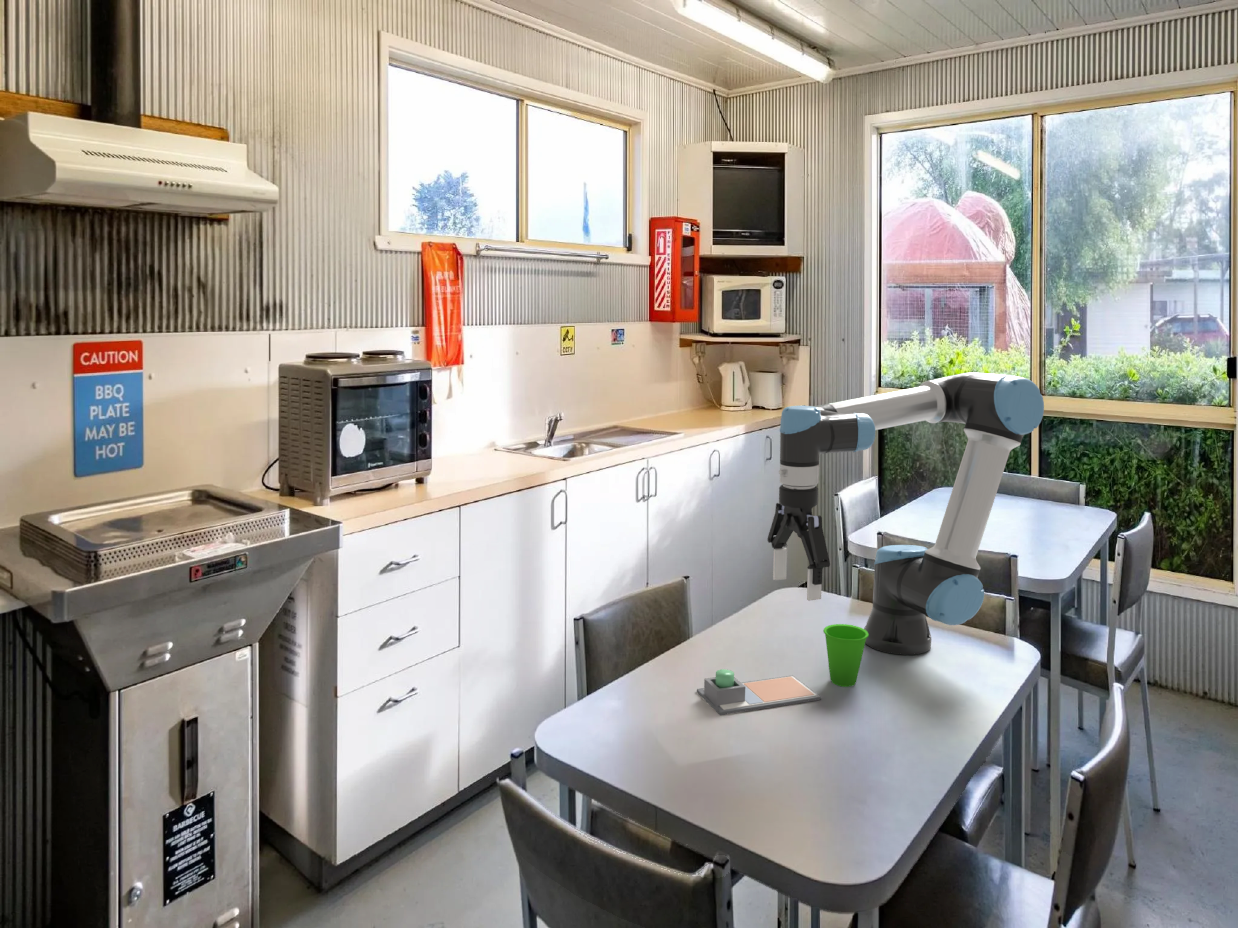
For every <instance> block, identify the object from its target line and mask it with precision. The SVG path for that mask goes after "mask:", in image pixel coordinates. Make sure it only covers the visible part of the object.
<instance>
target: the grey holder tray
mask: <svg viewBox="0 0 1238 928" xmlns="http://www.w3.org/2000/svg"><path fill="white" fill-rule="evenodd" d="M703 681H704V685H703V687H701V688H696V693H697V694H698V695H699V696H700V697H701V698H702V699H703V700H704V701H705V702H706V703H708V705H709V706H710V707H711V708H712V709H713V710H714V711H715V712H716V713H717V714H718V715H719V716H724V715H730V714H735V713H736V714H737V713H741V712H742V713H743V712H748V711H749V712H750V711H756V710H762V709H768V708H769V709H770V708H775V707H782V706H789V705H793V704H794V705H796V704H801V703H807V702H815V701H820V700H821V699H822V696H820V694H818V693H817V692H815V691H814V690H813V689H812V688H811V687H809V686H807V685H806V684H805V683H803V681H801V680H800V679H799V678H797V677H796V676H794V675H793V674H792V675H785V676H779V677H771V678H765V679H757V680H750V681H743V682H740V680H738V679H737V678H736V677H735V676H734V687H727V688H720V689H719V688H718V687H717V686H716V685H715V684H716V676H714V677H708V678H704V680H703Z"/></svg>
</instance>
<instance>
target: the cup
mask: <svg viewBox="0 0 1238 928" xmlns="http://www.w3.org/2000/svg"><path fill="white" fill-rule="evenodd" d="M823 634H825V635H824V636H825V643H826V644H825V645H826V653H827V660H828V661H827V664H828V670H829V679H830V682H831V683H832V684H833V685H835V686H838V687H843V688H844V687H845V688H847V687H854V686H855V684H856V683H857V679H858V676H859V673H860V672H859V671H860V668H861V663H862V659H863V654H864V649H865V646H866V644H865V641H866V638H867V637H868V635H869V634H868V632H867V631H866V630H865V629H864V628H863V627H861V626H860V627H859V626H858V625H854V624H847V623H845V624H844V623H838V624H837V623H834V624H830V625H827V626H825V627H824V628H823Z"/></svg>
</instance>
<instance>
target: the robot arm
mask: <svg viewBox="0 0 1238 928" xmlns="http://www.w3.org/2000/svg"><path fill="white" fill-rule="evenodd" d="M1044 411H1045V401H1044V397H1043V395H1042V394H1041V390H1040V388H1039V386H1038V385H1037V384H1036V383H1035V382H1033V381H1032V380H1030V379H1029V378H1026V377H1021V376H1017V375H1013V374H1001V373H999V374H998V373H987V372H979V371H978V372H977V371H974V372H971V371H970V372H963V373H959V374H953V375H948V376H945V377H939V378H934V379H930V380H926V381H924V382H922V383H921V384H919V386H916V387H911V388H906V389H901V390H896V391H889V392H885V393H879V394H873V395H867V396H862V397H859V398H858V397H857V398H852V399H846V400H842V401H841V400H840V401H836V402H831V403H826V404H824V403H823V404H819V405H813V406H812V405H805V404H804V405H791V406H790V405H789V406H786V407H784V408H783V409H782V411H781V417H780V425H779V433H780V435H779V440H780V441H779V444H780V445H779V470H778V474H779V483H780V484H781V485H780V486H779V487H778V489H779V491H778V495H779V496H778V502H776V503H775V510H774V511H775V512H774V514H773V515H774V516H773V518H772V522H771V526H770V530H769V532H768V536H767V539H766V540H767V543H768V544H769V543H770V544H771V548H773V558H772V559H773V560H772V561H773V562H772V563H773V564H772V566H773V567H772V580H773V581H781V580H787V572H788V571H787V566H788V565H787V564H788V559H787V558H788V548H786V547H787V546H788V545H787V543H788V541H789V539H790V538H791V535H792V534H793V532H794V533H796V536H797V537H798V538H799V539H800V540H801V544H802V545H803V548H804V551H805V554H806V558H807V560H808V563H809V565H808V566H807V578H806V579H807V581H806V582H807V584H806V586H807V587H806V601H809V602H810V601H817V600H822V587H823V586H822V583H823V569H824V568H830V566H831V563H830V562H831V561H830V558H829V552H828V548H827V544H826V540H825V535H824V534H825V533H824V529H823V517H822V516H821V515H813V508H814V507H816V506H817V505H818V503H819V488H818V486H817V485H819V481H820V480H819V478H820V456H821V455H823V454H824V455H826V454H835V453H850V452H853V453H856V452H861V451H866V450H868V449H870V448H871V447H872V445H873V444H874V443H875V440H876V431H878V430H882V429H889V428H893V427H897V426H904V425H908V424H913V423H918V422H919V423H920V422H924V421H925V422H927V423H930V424H936V423H946V422H948V423H949V422H950V423H958V424H964V427H963V432H964V435H965V436H966V437H967V443H966V445H965V449H964V452H963V454H962V459H961V461H960V465H959V469H958V471H957V474H956V477H955V481H954V484H953V487H952V489H951V493H950V495H949V499H948V502H947V505H946V509H945V511H944V512H945V513H944V515H943V518H942V521H941V524H940V528H939V531H938V533H937V534H938V535H937V537H936V540H935V544H934V545H933V546H932V547H930V548H928V547H925V546H923V545H915V544H913V545H912V544H894V545H893V544H892V545H891V544H890V545H884V546H881V547H879V548H878V549H877V550H876V553H875V561H874V562H873V565H874V573H873V594H872V609H871V611H870V614H869V616H868V619H867V620H866V624H865V626H864V628H863V629H865V630H866V631H867V632H868V634H869V635H868V637H867V638H866V641H865V645H867V646H868V647H870V648H872V649H875V650H876V651H880V652H884V653H886V654H893V655H902V656H907V655H908V656H910V655H920V654H924V653H927V652H929V650H931V647H932V635H931V630H930V627H929V624H928V620H927V617H928V618H930V619H931V620H932V621H935V622H939V623H941V624H944V625H947V626H958V625H962V624H965V623H966V622H967V621H970V620H971V619H972V618H974V617H975V616H976V615H977V613H978V612H979V610H980V609H981V607H982V605H983V602H984V599H985V589H984V588H983V587H984V586H983V583H982V582H981V580H980V579H979V578H978V577H979V574H980V570H981V565H980V564H979V563H978V561H977V558H976V557H977V555H978V552H979V549H980V546H981V543H982V540H983V537H984V534H985V530H986V528H987V525H988V524H987V523H988V521H989V519H990V518H989V517H990V515H991V512H992V509H993V505H994V503H995V499H996V497H997V492H998V490H999V487H1000V484H1001V481H1002V478H1003V475H1004V471H1005V468H1006V465H1007V461H1008V460H1009V456H1010V453H1011V451H1012V450H1013V449H1015V448H1017V447H1019V446H1020V445H1021V443H1022V441H1023V438H1024V435H1028V434H1030V433H1032V432H1033V431H1034V429H1037V428H1038V427H1039V426H1040V424H1041V422H1042V419H1043V417H1044Z"/></svg>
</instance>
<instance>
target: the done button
mask: <svg viewBox="0 0 1238 928" xmlns="http://www.w3.org/2000/svg"><path fill="white" fill-rule="evenodd" d="M715 677H716V684H715V685H716V686H717V687H718V688H719V689H720V688H727V687H734V677H735V672H734V671H732V670H730V669H725V668H724V669H723V668H722V669H718V670H716V671H715Z"/></svg>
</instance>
